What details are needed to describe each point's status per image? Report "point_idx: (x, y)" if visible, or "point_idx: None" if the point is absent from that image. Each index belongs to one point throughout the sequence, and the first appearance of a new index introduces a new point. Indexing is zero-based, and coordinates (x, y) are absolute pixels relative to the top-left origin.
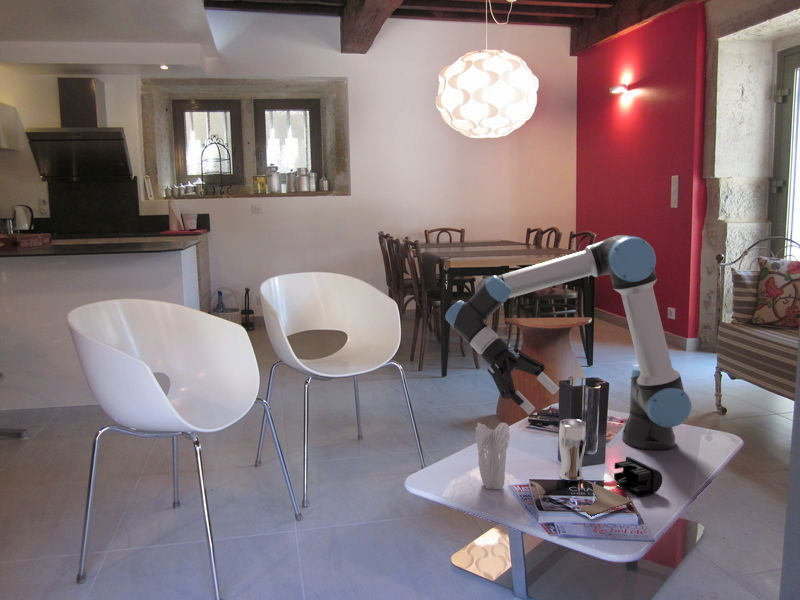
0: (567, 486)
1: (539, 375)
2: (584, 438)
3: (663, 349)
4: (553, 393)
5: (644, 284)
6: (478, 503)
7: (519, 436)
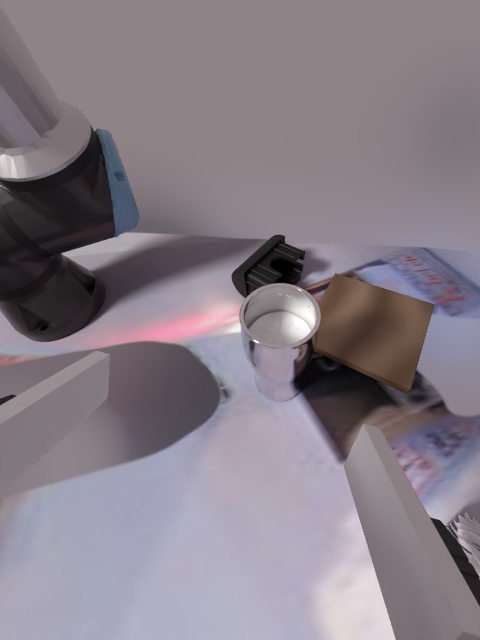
0: (326, 373)
1: None
2: (286, 305)
3: None
4: (105, 392)
5: None
6: None
7: (27, 608)
